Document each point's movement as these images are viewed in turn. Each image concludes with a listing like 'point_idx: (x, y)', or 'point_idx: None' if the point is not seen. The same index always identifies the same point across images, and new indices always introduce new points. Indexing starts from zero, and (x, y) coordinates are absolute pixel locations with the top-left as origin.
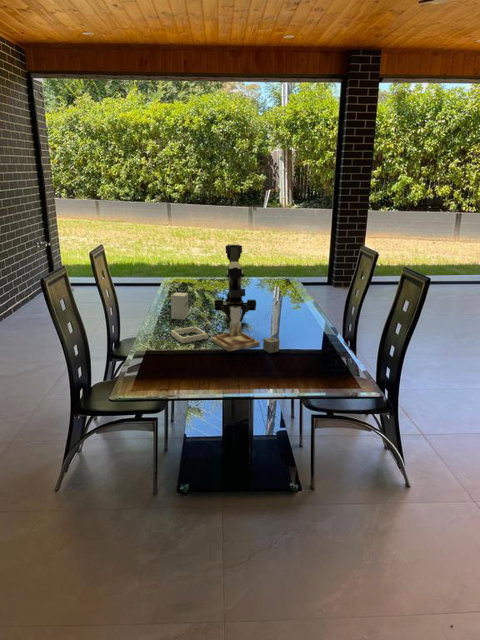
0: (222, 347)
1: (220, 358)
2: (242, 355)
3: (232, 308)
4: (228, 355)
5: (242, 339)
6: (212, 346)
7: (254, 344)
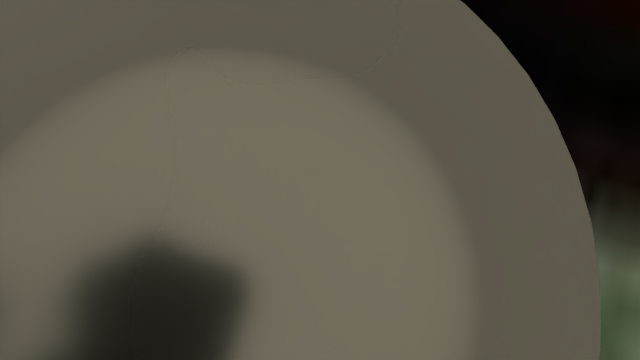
0: None
1: (600, 2)
2: None
3: (475, 34)
4: (508, 41)
5: None
6: (627, 344)
7: None
